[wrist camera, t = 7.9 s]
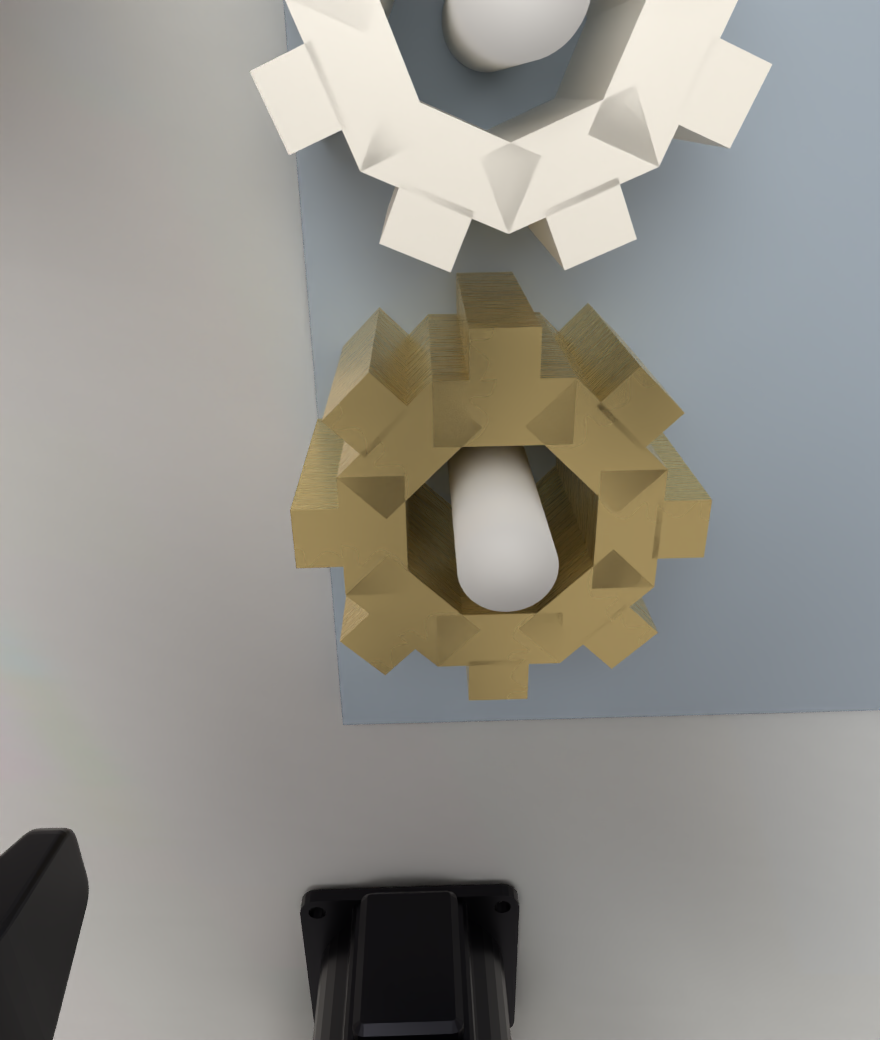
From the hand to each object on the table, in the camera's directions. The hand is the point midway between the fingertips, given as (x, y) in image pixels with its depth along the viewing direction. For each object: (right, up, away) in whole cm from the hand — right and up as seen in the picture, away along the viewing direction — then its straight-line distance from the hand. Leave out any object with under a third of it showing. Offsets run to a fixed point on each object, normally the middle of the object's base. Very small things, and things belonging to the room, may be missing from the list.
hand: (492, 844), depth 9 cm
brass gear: (0, +5, +9) cm, 10 cm away
